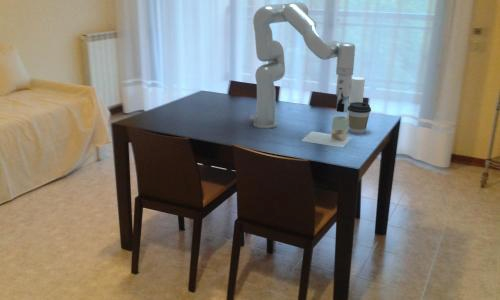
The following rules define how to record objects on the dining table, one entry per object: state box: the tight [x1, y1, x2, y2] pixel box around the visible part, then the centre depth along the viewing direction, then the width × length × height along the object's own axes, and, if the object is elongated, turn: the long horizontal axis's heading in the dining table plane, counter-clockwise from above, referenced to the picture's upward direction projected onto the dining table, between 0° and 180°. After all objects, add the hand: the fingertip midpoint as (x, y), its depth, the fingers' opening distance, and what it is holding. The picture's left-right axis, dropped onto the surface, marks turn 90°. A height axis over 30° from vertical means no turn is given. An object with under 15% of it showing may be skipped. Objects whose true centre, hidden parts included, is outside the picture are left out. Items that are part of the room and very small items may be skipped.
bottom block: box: [331, 127, 349, 141], centre depth 228 cm, size 6×6×5 cm
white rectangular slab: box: [300, 130, 352, 148], centre depth 227 cm, size 20×16×2 cm
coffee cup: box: [348, 102, 372, 134], centre depth 237 cm, size 11×11×15 cm
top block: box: [331, 115, 349, 131], centre depth 226 cm, size 6×6×5 cm
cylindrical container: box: [346, 76, 366, 128], centre depth 248 cm, size 7×7×25 cm
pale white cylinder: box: [336, 97, 349, 113], centre depth 223 cm, size 5×5×6 cm
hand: (341, 109), depth 224 cm, fingers closed on pale white cylinder, 4 cm apart
